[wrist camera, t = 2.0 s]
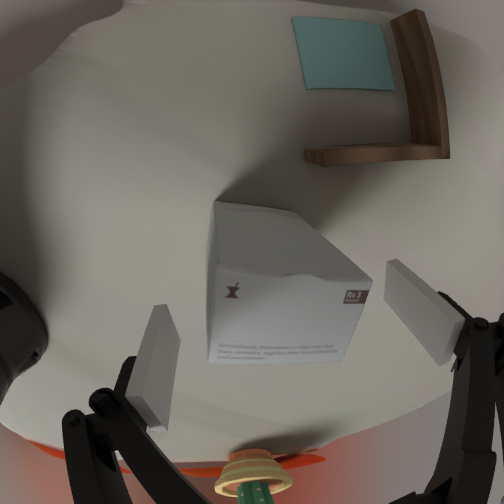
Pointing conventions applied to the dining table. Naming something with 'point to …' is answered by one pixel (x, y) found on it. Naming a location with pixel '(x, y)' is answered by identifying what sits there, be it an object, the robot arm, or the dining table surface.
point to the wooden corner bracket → (419, 103)
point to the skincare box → (277, 289)
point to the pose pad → (342, 54)
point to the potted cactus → (252, 477)
